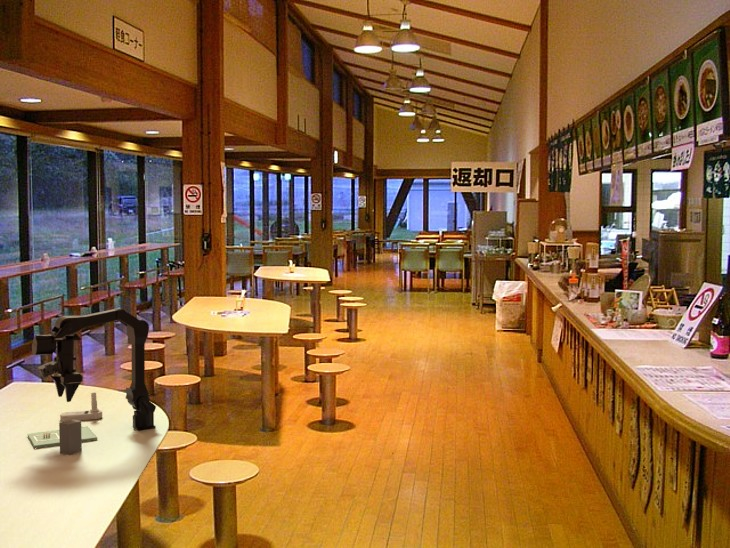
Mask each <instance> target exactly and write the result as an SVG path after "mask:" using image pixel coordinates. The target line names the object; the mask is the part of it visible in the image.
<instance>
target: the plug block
mask: <svg viewBox="0 0 730 548" xmlns="http://www.w3.org/2000/svg"><path fill="white" fill-rule="evenodd" d="M58 424H59V425H58V427H59V429H58V430H59V435H60V445H59V454H63V455H67V456H71V455H74V454H77V453H80V452H82V451H83V447H82V443H83V442H82V438H81V427H82V420H79V421H78V420H73V419H71V420H67V421H61V422H58Z"/></svg>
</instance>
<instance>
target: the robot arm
mask: <svg viewBox="0 0 730 548" xmlns="http://www.w3.org/2000/svg"><path fill="white" fill-rule="evenodd" d="M116 321H118V322H119V323H121V324H122V325H123V326H125V327H126V331H127V335H128V338H129V341H130V344H131V346H130V347H131V382H130V383H131V384H130V386H129V387H125V392H126V395H125V399H126V400H127V402H128V404H129V405H130V406H132V409H133V415H132V427H133V429H136V430H137V431H143V430H150V429H155V428H156V425H155V419H154V418H155V415H154V414H155V411H156V407H157V406H156V405H155V404H154V403H153V402H152V401H150V397H149V390H148V388H147V385H146V378H145V376H146V372H145V371H146V366H145V365H146V361H145V358H146V357H145V354H146V353H145V345H146V342H147V339H148V337H149V332H150V324H149V323H148V322H147V321H146V320H145V319H141V318H138V317H137V316H134V315H132V314H130V313H129V312H127V311H126V310H125V309H124V308H122V307H121V308H120V307H115V308H113V309H112V308H111V309H108V310H103V311H99V312H94V313H89V314H84V315H61V316H59V317H58V318H57V319H56V321H55V323H54V327H52V328H51V330H50V332H49V333H48V334H34V335H33V340H32V343H31V352H32V355H33V356H46V355H47V356H49V355H53V353H55V352H56V354H55V356H53V360H52V361H49V362H47V363H44V364H41V365H40V366H37V370H38V372H39V375H40V377H42V378H47V377H49V378H50V379H52V380H53V381H54V383H55V388H56V391H57V396H58V397H59V398H62V397H63V394H64V392H65V398H66V400H65V401H66V403H70V402H71V401H72V399H73V397H74V395H75V394H76V392H77V390H78V388H79V387H80V385H81V384H82V382H84V381H83V375H82V373H80V372H78V371H77V368H75V361H76V360H77V356H75V342H76V341H81V340H82V338H81V337H80V336H79V335H78V333H77V332H80V331H81V330H84V329H86V328H88V327H93V326H98V325H102V324H106V323H111V322H116Z"/></svg>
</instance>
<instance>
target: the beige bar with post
mask: <svg viewBox="0 0 730 548" xmlns="http://www.w3.org/2000/svg"><path fill="white" fill-rule="evenodd" d="M90 397H91V398H90V399H91V409H90V410H80V411H68V412H61V413H60V415H59V419H60V421H61V422H64V421H67V420H71V419H73V420H78V421H91V420H99V419H101V418H103V411H102V410H101V409H99V408H98V400H97V392H92V393H90Z"/></svg>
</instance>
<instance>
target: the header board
mask: <svg viewBox="0 0 730 548" xmlns="http://www.w3.org/2000/svg"><path fill="white" fill-rule="evenodd" d="M81 438H82V443H86V442H85V441H87V442H92V441H91V440H94V441H98V436H97V435H96V434H95V433H94V431H92V429H91V428H90V427H89V426H88V425H87V426H86V425H85V426H81ZM27 439H28V440H29V442H30V441H31V442H30V443H31V445H32V446H34V447H33V448H34V449H35V448H36V449H42V448H43V449H44V448H50V446H51V447H57V446H60V435H59V429H56V430H55V429H54V430H47V431H40V432H31V433H27Z"/></svg>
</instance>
